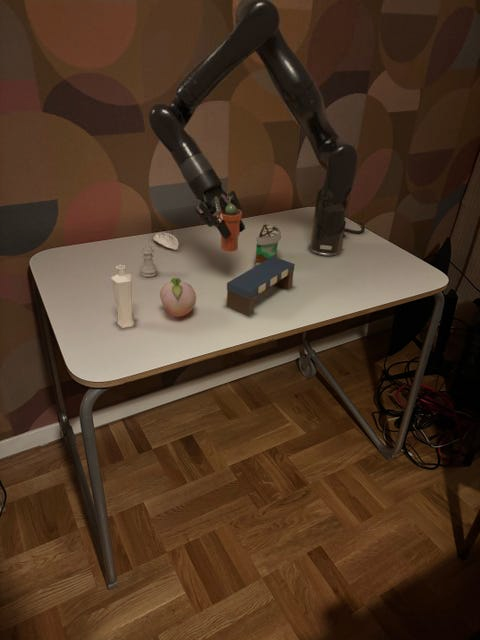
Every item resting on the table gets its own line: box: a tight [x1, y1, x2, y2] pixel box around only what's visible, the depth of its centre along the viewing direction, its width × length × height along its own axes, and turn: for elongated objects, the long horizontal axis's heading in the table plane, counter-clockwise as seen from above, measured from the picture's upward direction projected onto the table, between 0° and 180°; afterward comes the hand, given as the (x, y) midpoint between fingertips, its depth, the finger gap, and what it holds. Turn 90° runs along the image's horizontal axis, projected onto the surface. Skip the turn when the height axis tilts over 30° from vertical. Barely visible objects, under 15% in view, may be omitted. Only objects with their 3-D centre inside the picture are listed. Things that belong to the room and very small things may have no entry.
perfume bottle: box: [110, 264, 135, 329], centre depth 115 cm, size 5×4×15 cm
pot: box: [219, 204, 243, 253], centre depth 128 cm, size 6×6×12 cm
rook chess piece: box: [140, 245, 158, 278], centre depth 138 cm, size 4×4×8 cm
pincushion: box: [152, 225, 180, 251], centre depth 155 cm, size 12×6×6 cm, turn 38°
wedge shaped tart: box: [255, 221, 282, 266], centre depth 147 cm, size 12×6×10 cm, turn 168°
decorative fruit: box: [159, 277, 197, 317], centre depth 120 cm, size 9×8×10 cm
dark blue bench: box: [226, 256, 296, 317], centre depth 130 cm, size 20×7×7 cm, turn 142°
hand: (235, 233), depth 128 cm, fingers closed on pot, 5 cm apart
